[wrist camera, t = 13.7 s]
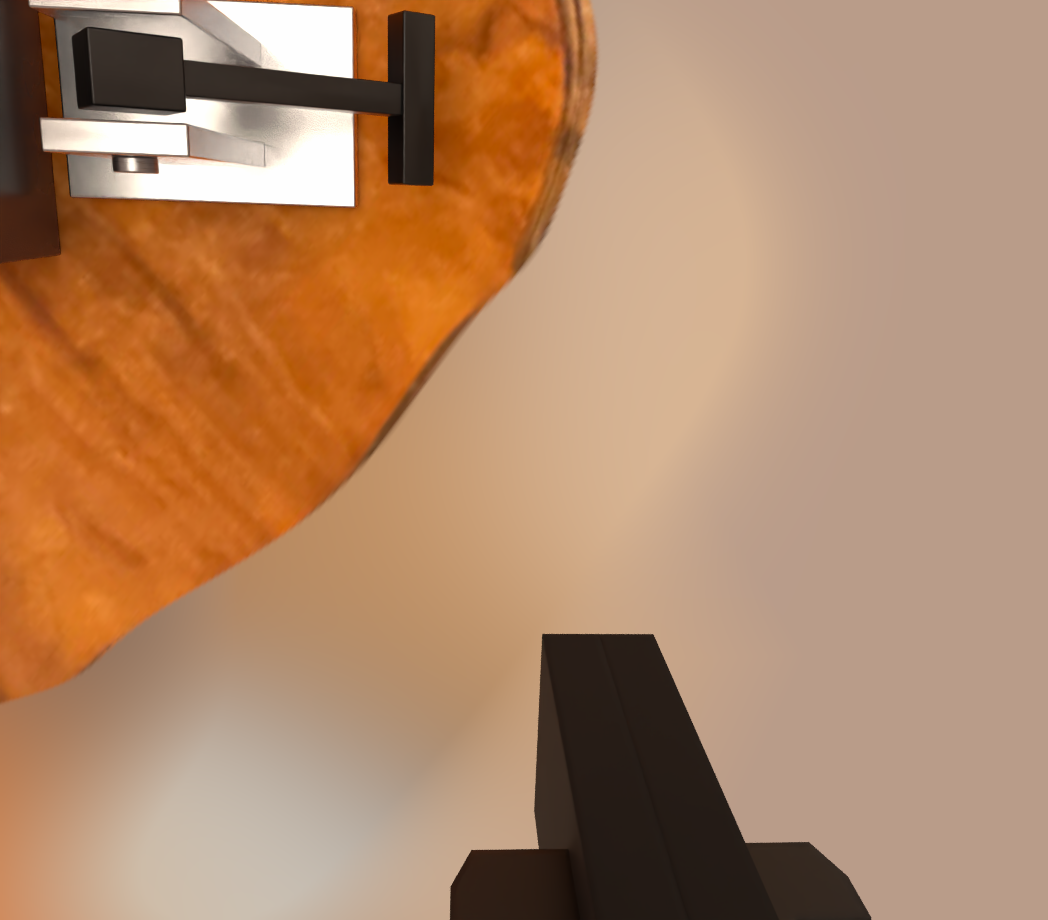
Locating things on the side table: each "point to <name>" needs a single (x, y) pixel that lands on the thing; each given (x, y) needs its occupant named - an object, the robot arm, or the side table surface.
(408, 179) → the lever
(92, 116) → the lever bracket
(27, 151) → the toaster
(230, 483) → the side table surface
